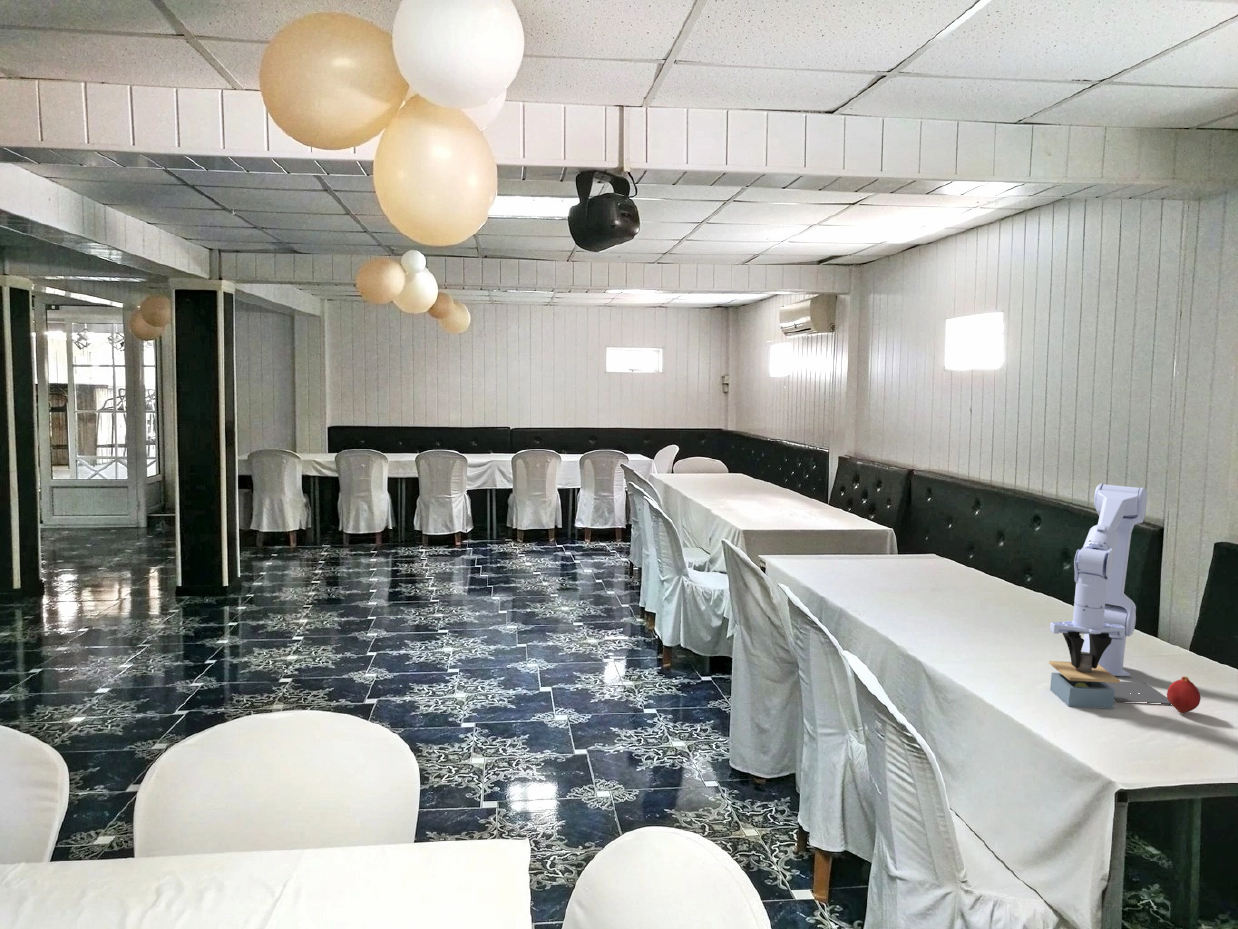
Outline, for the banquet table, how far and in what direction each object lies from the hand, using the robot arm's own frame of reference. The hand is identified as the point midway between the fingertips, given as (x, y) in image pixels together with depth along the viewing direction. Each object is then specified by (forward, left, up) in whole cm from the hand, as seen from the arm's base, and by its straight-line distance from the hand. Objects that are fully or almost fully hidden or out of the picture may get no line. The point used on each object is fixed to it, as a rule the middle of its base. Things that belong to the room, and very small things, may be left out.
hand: (1083, 666), depth 182 cm
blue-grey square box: (0, 0, -7) cm, 7 cm away
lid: (0, 0, -1) cm, 1 cm away
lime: (0, 0, -5) cm, 5 cm away
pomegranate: (+5, +18, -7) cm, 20 cm away
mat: (-5, +13, -7) cm, 16 cm away
